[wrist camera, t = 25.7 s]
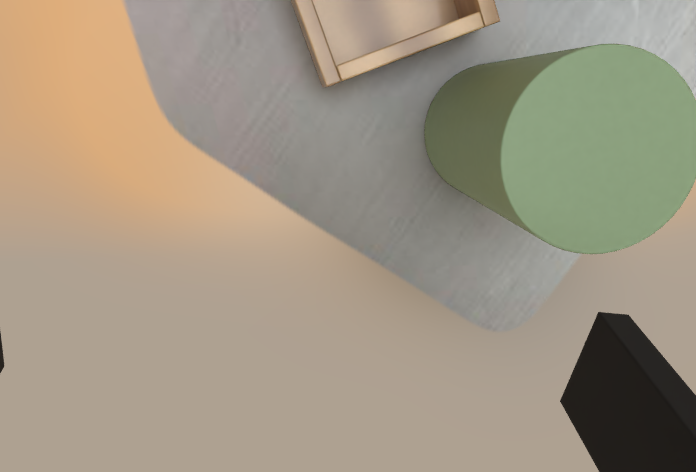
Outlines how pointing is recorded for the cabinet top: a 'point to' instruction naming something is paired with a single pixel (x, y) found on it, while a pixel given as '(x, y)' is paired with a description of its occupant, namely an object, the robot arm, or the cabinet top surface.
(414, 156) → the cabinet top surface
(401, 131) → the cabinet top surface
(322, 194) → the cabinet top surface
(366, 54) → the wooden divided box
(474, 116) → the stand
